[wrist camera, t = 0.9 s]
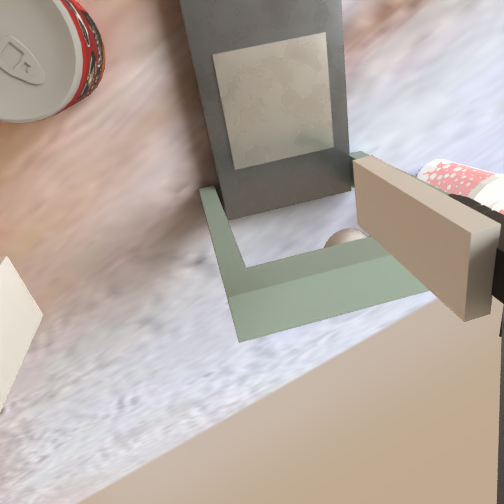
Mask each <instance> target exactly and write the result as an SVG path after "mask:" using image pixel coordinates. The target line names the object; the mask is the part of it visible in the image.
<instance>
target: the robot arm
mask: <svg viewBox="0 0 504 504" xmlns="http://www.w3.org/2000/svg"><path fill="white" fill-rule="evenodd" d="M353 172H354V184H355V196H356V208H357V219H358V225H360V226H361V227H362V228H363V229H364V230H365V231H366V232H367V233H368V234H369V235H370V236H371V237H373V238H374V239H375V240H376V241H377V242H378V243H379V244H380V245H381V246H382V247H383V248H384V249H386V250H387V251H388V252H389V253H390V254H391V255H392V256H393V257H394V258H395V259H396V260H397V261H399V262H400V263H401V264H402V265H403V266H404V267H405V268H406V269H407V270H408V271H409V272H410V273H411V274H413V275H414V276H415V277H416V278H417V279H418V280H419V281H420V282H421V283H422V284H423V285H424V286H426V287H427V288H428V289H429V290H430V291H431V292H432V293H433V294H434V295H435V296H436V297H437V298H439V299H440V300H441V301H442V302H443V303H444V304H445V305H446V306H447V307H448V308H449V309H450V310H452V311H453V312H454V313H455V314H456V315H457V316H458V317H459V318H460V319H461V320H462V321H464V322H466V321H469V320H472V319H475V318H479V317H482V316H485V315H488V314H490V311H491V303H492V295H493V296H494V297H495V298H497V299H498V300H499V301H500V302H502V303H503V304H504V215H503V214H501V213H499V212H497V211H495V210H491V208H489V207H487V206H485V205H481V203H479V202H477V201H475V200H473V199H471V198H469V197H465V196H461V195H456V194H448V195H445V194H444V193H442V192H440V191H438V190H436V189H434V188H432V187H430V186H428V185H427V184H425V183H423V182H421V181H419V180H417V179H415V178H413V177H412V176H410V175H408V174H406V173H404V172H402V171H400V170H398V169H397V168H395V167H393V166H391V165H389V164H387V163H385V162H383V161H382V160H380V159H378V158H376V157H374V156H372V155H370V156H366V157H363V158H359V159H355V160H353ZM42 317H43V314H42V312H41V310H40V309H39V307H38V305H37V304H36V302H35V301H34V299H33V297H32V296H31V294H30V292H29V291H28V289H27V288H26V286H25V284H24V283H23V281H22V279H21V278H20V276H19V275H18V273H17V271H16V270H15V268H14V266H13V265H12V263H11V262H10V260H9V258H8V257H7V256H5V257H1V258H0V412H1V409H2V407H3V405H4V403H5V400H6V398H7V396H8V394H9V391H10V389H11V387H12V384H13V382H14V380H15V378H16V375H17V373H18V371H19V369H20V366H21V364H22V362H23V360H24V357H25V355H26V353H27V351H28V348H29V346H30V344H31V342H32V339H33V337H34V335H35V333H36V330H37V328H38V326H39V323H40V321H41V319H42ZM499 336H500V337H502V343H501V378H500V381H501V382H500V412H499V414H500V415H499V448H498V451H499V452H498V481H497V483H498V484H497V504H504V307H503V314H502V321H501V328H500V335H499Z"/></svg>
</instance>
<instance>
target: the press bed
mask: <svg viewBox="0 0 504 504" xmlns="http://www.w3.org/2000/svg"><path fill="white" fill-rule="evenodd" d="M178 2H179V6H180V11H181V15H182V20H183V24H184V29H185V33H186V38H187V42H188V47H189V51H190V56H191V60H192V65H193V70H194V74H195V79H196V83H197V88H198V92H199V97H200V101H201V106H202V110H203V115H204V119H205V124H206V128H207V133H208V137H209V142H210V146H211V151H212V155H213V160H214V164H215V169H216V173H217V178H218V182H219V187H220V192H221V196H222V201H223V205H224V210H225V213H226V216H227V219H228V220H232V219H236V218H240V217H244V216H248V215H252V214H256V213H261V212H265V211H269V210H273V209H277V208H281V207H285V206H290V205H294V204H298V203H302V202H306V201H310V200H314V199H319V198H323V197H327V196H331V195H335V194H339V193H343V192H348V191H351V173H350V154H349V136H348V117H347V98H346V80H345V61H344V42H343V23H342V5H341V0H178Z"/></svg>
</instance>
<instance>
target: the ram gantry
mask: <svg viewBox="0 0 504 504" xmlns="http://www.w3.org/2000/svg"><path fill="white" fill-rule="evenodd" d="M366 156H370V155H368V154H366V153H364V152H362V151H359V152H355V153H351V154H350V173H351V186H352V187H354V188H355V184H354V172H353V160H355V159H359V158H363V157H366ZM398 170H399V169H398ZM400 171H402V170H400ZM402 172H404V171H402ZM404 173H406V172H404ZM406 174H408V173H406ZM408 175H410V174H408ZM410 176H412V175H410ZM412 177H413V178H415V179H417V180H419V181H421V182H423V183H425V184H427V185H428V186H430V187H432V188H434V189H436V190H438V191H440V192H442V193H444V194H445V195H448V194H449V193H447V192H445V191H443V190H441V189H439V188H437V187H435V186H433V185H431V184H429V183H426V182H424V181H422V180H420V179H418V178H416V177H414V176H412ZM199 192H200V196H201V200H202V204H203V208H204V212H205V216H206V220H207V223H208V227H209V231H210V235H211V239H212V242H213V246H214V250H215V254H216V257H217V261H218V265H219V269H220V273H221V276H222V280H223V284H224V288H225V291H226V295H227V299H228V303H229V307H230V310H231V314H232V318H233V322H234V325H235V329H236V333H237V337H238V341H239V343H240V342H244V341H247V340H251V339H255V338H258V337H262V336H266V335H269V334H273V333H277V332H280V331H284V330H288V329H291V328H295V327H299V326H302V325H306V324H310V323H313V322H317V321H321V320H324V319H328V318H331V317H335V316H339V315H342V314H346V313H350V312H353V311H357V310H361V309H364V308H368V307H372V306H375V305H379V304H383V303H386V302H390V301H394V300H397V299H401V298H405V297H408V296H412V295H416V294H419V293H423V292H426V291H430V290H429V289H428V288H427V287H426V286H424V285H423V284H422V283H421V282H420V281H419V280H418V279H417V278H416V277H415V276H414V275H413V274H411V273H410V272H409V271H408V270H407V269H406V268H405V267H404V266H403V265H402V264H401V263H400V262H399V261H397V260H396V259H395V258H394V257H393V256H392V255H391V254H390V253H389V252H388V251H387V250H386V249H384V248H383V247H382V246H381V245H380V244H379V243H378V242H377V241H376V240H375V239H374V238H373V237H371V236H370V237H366V236H365V235H364V234H363V233H362V232H360V231H359V230H356V229H344V230H341V231H338V232H337V233H335V234H334V235H332V236H331V237H330V238H329V240H328V241H327V242H326V244H325V246H324V248H323V249H319V250H315V251H311V252H307V253H303V254H299V255H295V256H291V257H287V258H283V259H279V260H276V261H272V262H268V263H264V264H260V265H256V266H252V267H248V268H246V266H245V264H244V261H243V259H242V256H241V254H240V251H239V249H238V246H237V243H236V241H235V238H234V236H233V233H232V231H231V228H230V226H229V223H228V220H227V218H226V215H225V213H224V210H223V208H222V205H221V203H220V200H219V197H218V195H217V192H216V190H215V187H214V185H212V186H208V187H204V188H200V189H199Z"/></svg>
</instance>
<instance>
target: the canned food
mask: <svg viewBox="0 0 504 504" xmlns="http://www.w3.org/2000/svg"><path fill="white" fill-rule="evenodd" d="M104 69H105V51H104V45H103V42H102V38H101V35H100V33H99V31H98V29H97V27H96V25H95V23H94V21H93V20H92V19H91V17H90V16H89V14H88V13H87V12H86V11H85V10H84V9H83V7H82V6H81V5H80V4H79V3H78V2H76V1H75V0H0V121H2V122H9V123H28V122H35V121H40V120H43V119H46V118H49V117H51V116H53V115H56V114H58V113H60V112H61V111H63V110H65V109H67V108H68V107H70V106H72V105H74V104H75V103H77V102H79V101H81V100H82V99H84V98H85V97H87V96H88V95H90V94H91V93H92V92H93V91H94V90H95V89H96V88H97V86H98V84H99V83H100V81H101V79H102V76H103V72H104Z"/></svg>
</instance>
